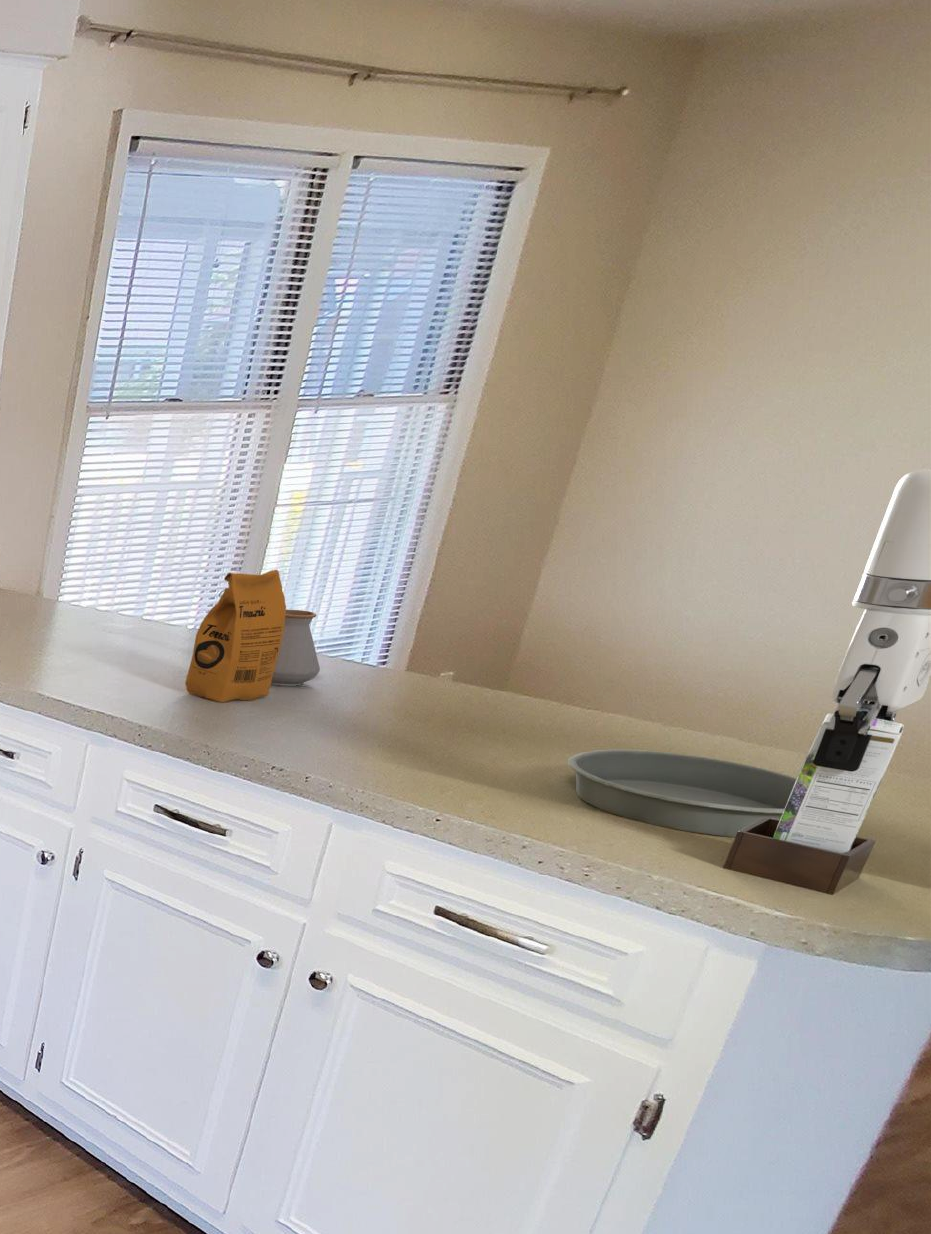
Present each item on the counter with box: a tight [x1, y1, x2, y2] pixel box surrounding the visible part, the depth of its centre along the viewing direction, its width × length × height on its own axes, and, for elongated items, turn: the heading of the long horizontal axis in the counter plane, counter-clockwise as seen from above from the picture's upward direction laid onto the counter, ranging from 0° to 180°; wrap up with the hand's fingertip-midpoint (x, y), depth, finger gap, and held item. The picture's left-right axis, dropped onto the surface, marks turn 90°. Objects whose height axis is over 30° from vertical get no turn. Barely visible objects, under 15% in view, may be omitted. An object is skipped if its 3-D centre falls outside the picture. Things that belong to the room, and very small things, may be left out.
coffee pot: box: [218, 587, 321, 687], centre depth 219 cm, size 21×12×15 cm, turn 17°
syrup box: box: [773, 713, 905, 854], centre depth 126 cm, size 6×6×14 cm
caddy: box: [722, 817, 876, 896], centre depth 130 cm, size 9×9×6 cm
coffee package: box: [184, 569, 287, 703], centre depth 205 cm, size 10×12×22 cm
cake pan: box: [567, 749, 797, 838], centre depth 152 cm, size 25×25×4 cm
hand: (846, 761), depth 125 cm, fingers closed on syrup box, 6 cm apart
